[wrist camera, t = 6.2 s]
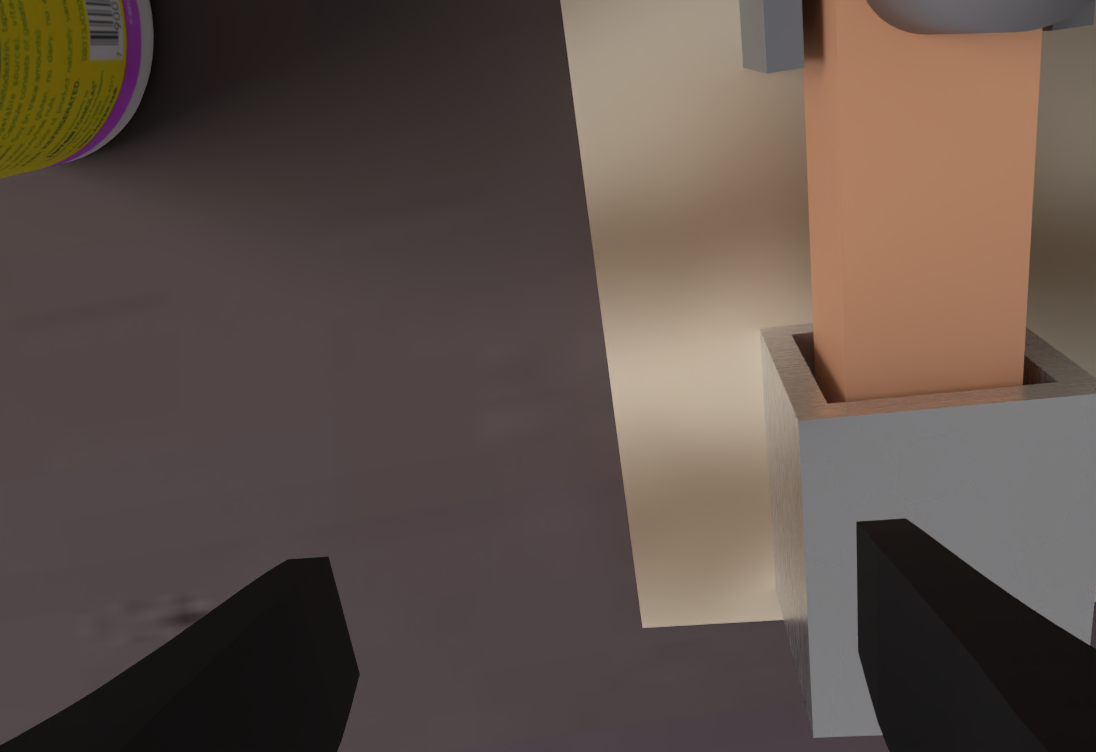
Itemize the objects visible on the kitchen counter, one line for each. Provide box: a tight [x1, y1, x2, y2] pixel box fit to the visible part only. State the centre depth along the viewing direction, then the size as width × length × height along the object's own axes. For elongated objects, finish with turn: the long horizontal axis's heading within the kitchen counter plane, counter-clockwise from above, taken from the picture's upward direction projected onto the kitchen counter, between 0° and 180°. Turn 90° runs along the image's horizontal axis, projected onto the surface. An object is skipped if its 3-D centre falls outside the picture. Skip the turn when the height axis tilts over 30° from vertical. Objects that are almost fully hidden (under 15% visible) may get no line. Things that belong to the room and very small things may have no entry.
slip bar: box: [802, 0, 1093, 404], centre depth 14 cm, size 12×3×6 cm, turn 8°
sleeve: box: [760, 323, 1096, 738], centre depth 18 cm, size 7×5×5 cm
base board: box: [560, 0, 1096, 628], centre depth 18 cm, size 19×12×1 cm, turn 8°
